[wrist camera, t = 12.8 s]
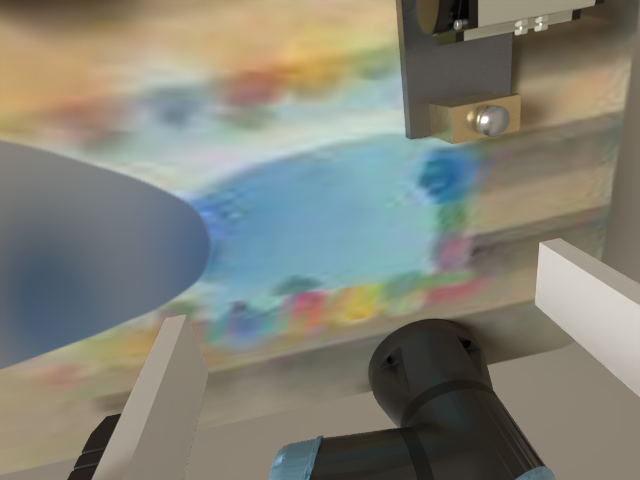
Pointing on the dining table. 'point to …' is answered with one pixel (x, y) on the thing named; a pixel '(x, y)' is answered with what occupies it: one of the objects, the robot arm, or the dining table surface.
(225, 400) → the dining table surface
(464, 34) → the pneumatic valve
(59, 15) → the dining table surface
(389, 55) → the dining table surface
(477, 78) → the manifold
